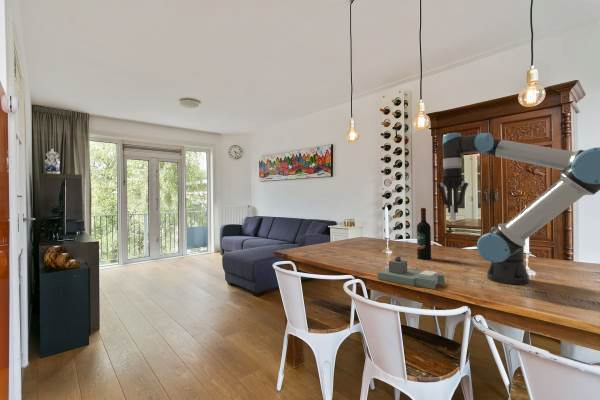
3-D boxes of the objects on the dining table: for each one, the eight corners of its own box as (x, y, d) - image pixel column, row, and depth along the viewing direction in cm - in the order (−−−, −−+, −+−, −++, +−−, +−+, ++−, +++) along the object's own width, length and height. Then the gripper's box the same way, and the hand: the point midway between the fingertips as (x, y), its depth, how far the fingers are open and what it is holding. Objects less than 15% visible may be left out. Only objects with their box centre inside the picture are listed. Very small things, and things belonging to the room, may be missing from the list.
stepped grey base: (445, 282, 130) (445, 259, 130) (433, 290, 120) (432, 265, 120) (392, 272, 148) (392, 252, 148) (377, 278, 138) (377, 257, 138)
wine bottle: (432, 260, 173) (431, 208, 173) (418, 259, 175) (417, 208, 174) (429, 257, 181) (428, 207, 180) (416, 257, 182) (415, 207, 182)
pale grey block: (437, 283, 129) (437, 272, 129) (430, 287, 124) (430, 275, 124) (426, 281, 132) (425, 270, 132) (419, 285, 128) (418, 273, 128)
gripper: (470, 167, 133) (471, 220, 134) (440, 169, 142) (441, 219, 143) (465, 166, 128) (466, 221, 128) (434, 168, 137) (435, 220, 138)
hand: (453, 220), depth 136 cm, fingers closed
